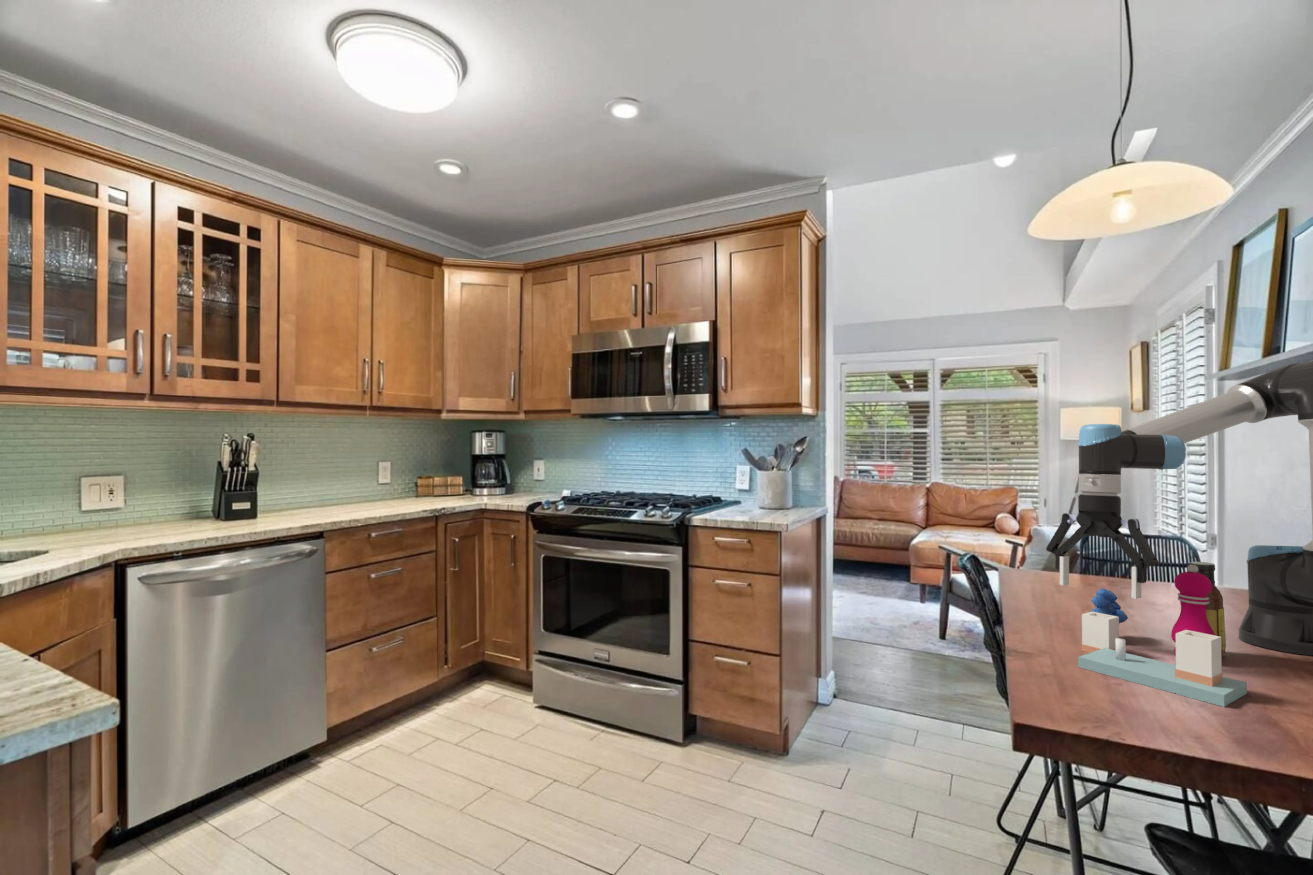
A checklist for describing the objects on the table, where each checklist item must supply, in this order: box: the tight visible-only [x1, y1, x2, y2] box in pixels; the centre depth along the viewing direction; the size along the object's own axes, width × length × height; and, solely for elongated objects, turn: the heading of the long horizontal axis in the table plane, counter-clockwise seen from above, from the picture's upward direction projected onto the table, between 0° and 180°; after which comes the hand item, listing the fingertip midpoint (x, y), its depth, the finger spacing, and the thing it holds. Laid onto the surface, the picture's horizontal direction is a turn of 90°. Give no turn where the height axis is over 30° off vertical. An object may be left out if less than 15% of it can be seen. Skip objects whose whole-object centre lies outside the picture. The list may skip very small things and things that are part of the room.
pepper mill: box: [1170, 564, 1215, 658], centre depth 126 cm, size 7×7×20 cm
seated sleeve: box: [1175, 630, 1224, 687], centre depth 109 cm, size 5×5×8 cm
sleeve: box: [1080, 611, 1120, 654], centre depth 129 cm, size 5×5×8 cm
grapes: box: [1090, 587, 1129, 624], centre depth 139 cm, size 12×7×12 cm, turn 123°
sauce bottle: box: [1189, 561, 1227, 658], centre depth 130 cm, size 7×6×20 cm
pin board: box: [1077, 637, 1248, 708], centre depth 114 cm, size 12×22×6 cm, turn 32°
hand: (1098, 591), depth 130 cm, fingers open, 13 cm apart
